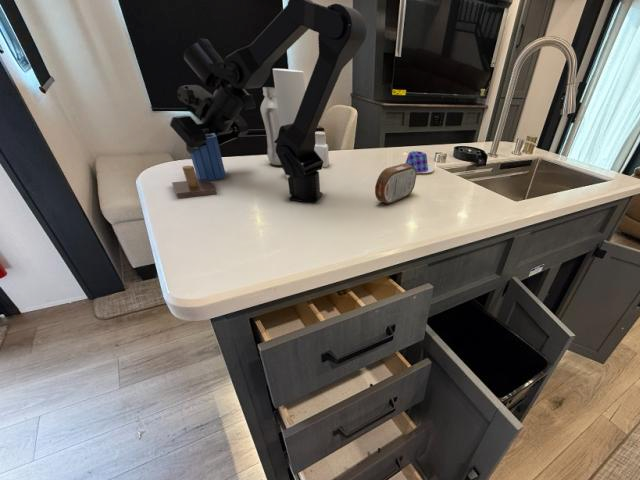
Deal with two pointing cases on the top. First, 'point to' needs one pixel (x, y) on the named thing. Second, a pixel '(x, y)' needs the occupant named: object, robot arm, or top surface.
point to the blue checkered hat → (418, 162)
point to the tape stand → (193, 185)
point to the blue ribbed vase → (209, 160)
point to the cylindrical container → (288, 94)
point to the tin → (395, 183)
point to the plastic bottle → (271, 122)
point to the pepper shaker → (322, 147)
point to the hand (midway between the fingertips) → (200, 148)
